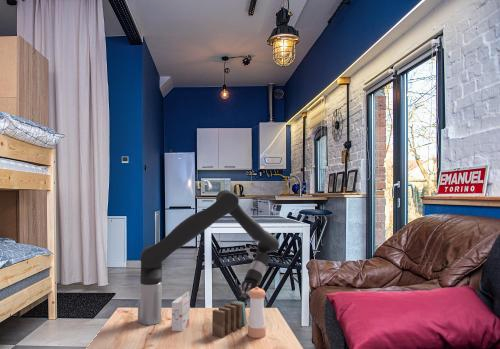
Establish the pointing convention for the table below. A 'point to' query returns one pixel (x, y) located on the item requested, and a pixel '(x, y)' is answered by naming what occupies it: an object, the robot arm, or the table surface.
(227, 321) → the walnut tile
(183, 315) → the ink cartridge box
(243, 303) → the teal tile
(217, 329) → the walnut tile
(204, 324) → the table surface
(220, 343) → the table surface
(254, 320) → the pepper shaker
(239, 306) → the walnut tile
